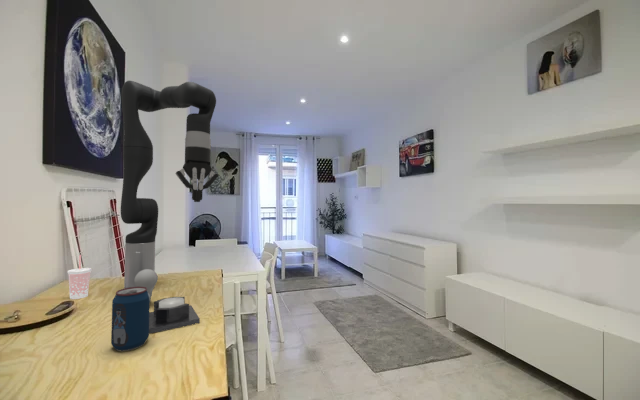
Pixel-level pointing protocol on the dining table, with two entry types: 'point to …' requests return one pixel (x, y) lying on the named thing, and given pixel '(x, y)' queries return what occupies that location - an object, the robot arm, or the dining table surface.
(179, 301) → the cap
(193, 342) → the dining table surface
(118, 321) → the soda can
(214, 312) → the dining table surface
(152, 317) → the ball socket plate
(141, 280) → the lightbulb
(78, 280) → the beverage cup
